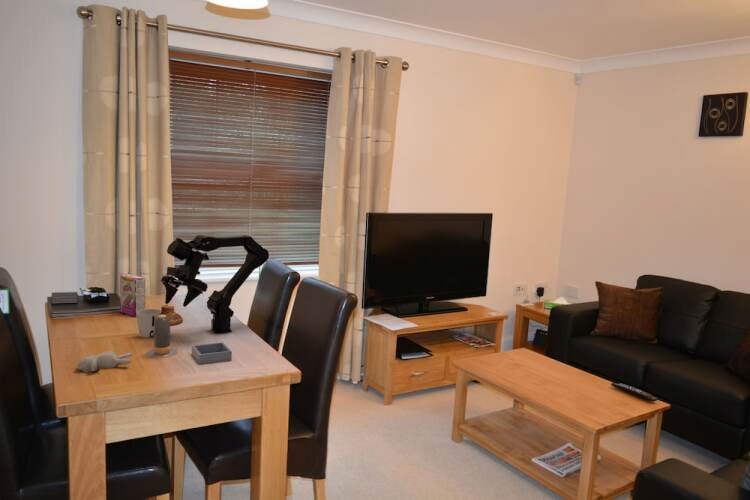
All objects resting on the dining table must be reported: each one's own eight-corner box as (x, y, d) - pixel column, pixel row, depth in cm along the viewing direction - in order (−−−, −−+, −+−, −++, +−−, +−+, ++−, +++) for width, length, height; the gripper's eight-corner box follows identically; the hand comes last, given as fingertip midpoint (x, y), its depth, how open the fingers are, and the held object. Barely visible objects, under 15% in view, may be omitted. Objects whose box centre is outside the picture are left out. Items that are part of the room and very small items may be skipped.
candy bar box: (119, 312, 241) (118, 275, 238) (129, 310, 245) (129, 273, 243) (135, 317, 235) (135, 279, 233) (146, 315, 239) (146, 277, 237)
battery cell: (168, 349, 195) (168, 313, 193) (171, 354, 190) (171, 316, 189) (152, 351, 192) (152, 314, 190) (155, 356, 188) (155, 318, 186)
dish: (222, 353, 197) (223, 342, 197) (231, 363, 188) (231, 351, 188) (191, 356, 192) (191, 345, 191) (198, 367, 183) (199, 355, 182)
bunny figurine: (80, 352, 179) (131, 345, 183) (83, 368, 180) (133, 360, 184) (74, 362, 170) (128, 354, 174) (77, 379, 171) (130, 370, 175)
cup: (152, 342, 205) (152, 315, 204) (132, 339, 207) (131, 313, 205) (164, 336, 213) (164, 310, 211) (145, 333, 214) (145, 307, 213)
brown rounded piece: (148, 321, 232) (148, 303, 231) (177, 317, 239) (178, 301, 238) (156, 328, 223) (156, 310, 222) (187, 324, 230) (187, 307, 229)
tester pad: (174, 349, 198) (174, 346, 198) (180, 358, 190) (180, 355, 190) (144, 352, 193) (144, 350, 193) (148, 362, 185) (148, 359, 184)
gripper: (159, 255, 208) (141, 293, 202) (195, 258, 199) (177, 299, 193) (179, 267, 217) (163, 305, 211) (215, 271, 208) (199, 311, 202)
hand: (175, 305), depth 204 cm, fingers open, 9 cm apart
